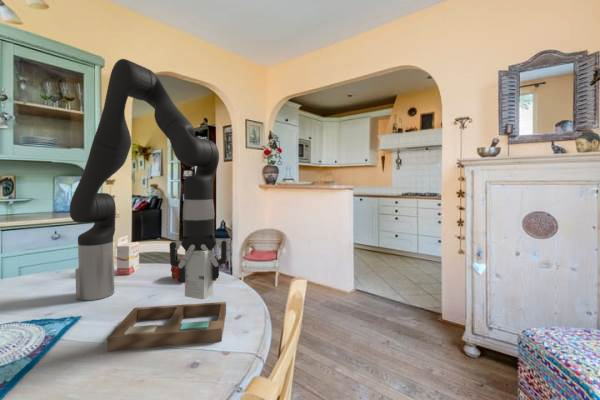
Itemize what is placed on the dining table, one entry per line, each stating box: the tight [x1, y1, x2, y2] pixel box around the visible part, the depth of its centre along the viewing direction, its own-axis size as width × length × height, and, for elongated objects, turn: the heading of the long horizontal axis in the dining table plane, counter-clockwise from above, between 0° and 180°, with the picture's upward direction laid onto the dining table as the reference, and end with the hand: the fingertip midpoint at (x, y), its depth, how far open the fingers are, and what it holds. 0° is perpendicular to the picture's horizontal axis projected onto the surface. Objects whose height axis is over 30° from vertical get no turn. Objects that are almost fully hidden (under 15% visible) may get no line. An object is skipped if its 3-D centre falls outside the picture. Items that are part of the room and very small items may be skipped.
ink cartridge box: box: [116, 235, 140, 276], centre depth 116 cm, size 9×5×15 cm, turn 5°
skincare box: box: [184, 248, 215, 300], centre depth 73 cm, size 6×4×12 cm
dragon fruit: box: [170, 258, 182, 283], centre depth 108 cm, size 8×8×12 cm
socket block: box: [106, 301, 227, 352], centre depth 71 cm, size 24×15×3 cm, turn 101°
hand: (199, 280), depth 73 cm, fingers closed on skincare box, 7 cm apart
